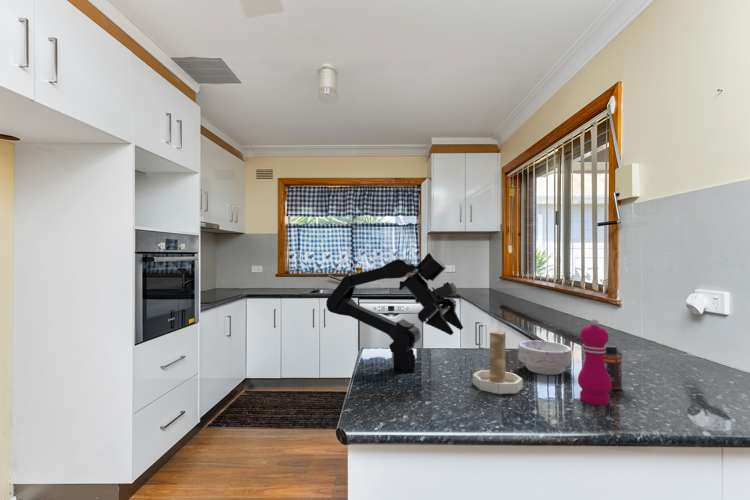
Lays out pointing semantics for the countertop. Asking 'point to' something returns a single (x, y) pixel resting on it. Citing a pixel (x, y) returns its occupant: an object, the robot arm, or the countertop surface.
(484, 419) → the countertop surface
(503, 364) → the tall wooden post
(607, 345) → the supplement bottle
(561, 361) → the paper bowls
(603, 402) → the pepper mill
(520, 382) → the bowl
